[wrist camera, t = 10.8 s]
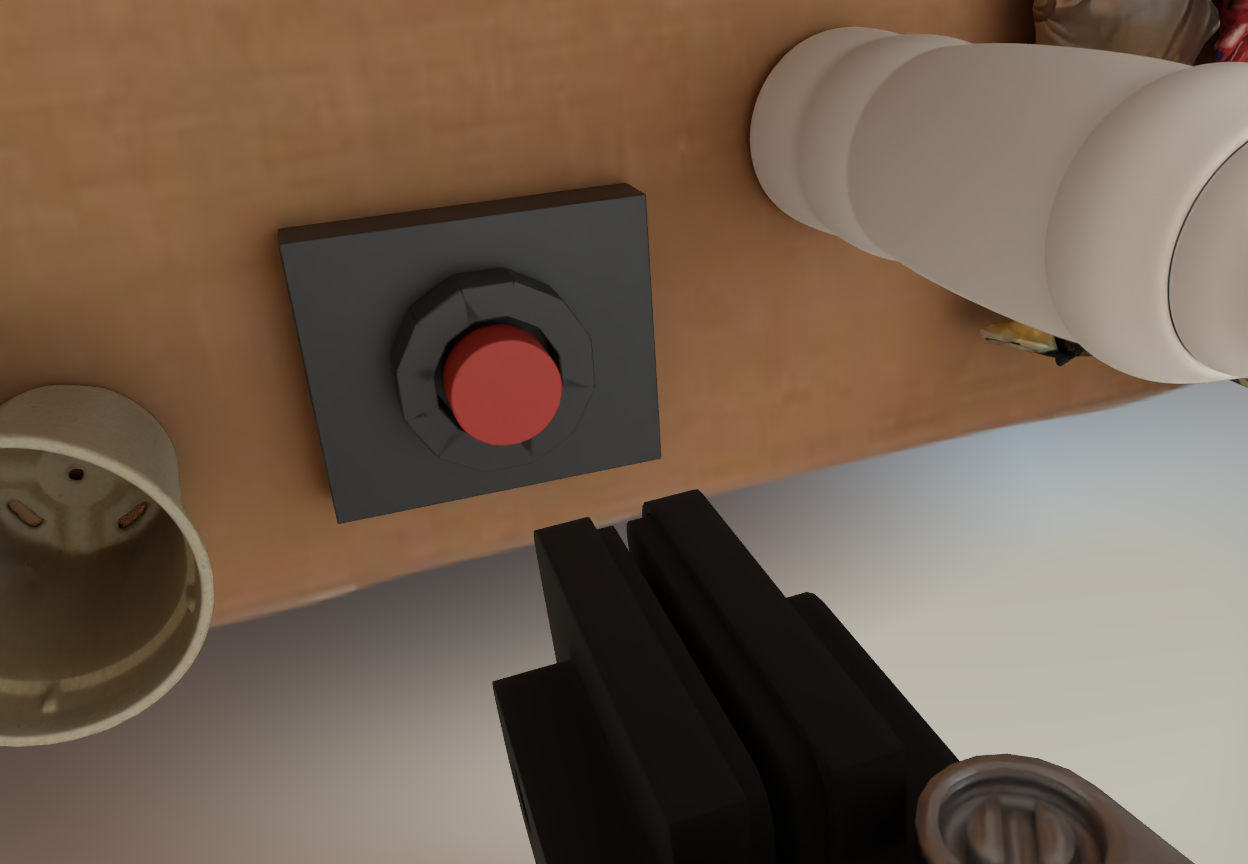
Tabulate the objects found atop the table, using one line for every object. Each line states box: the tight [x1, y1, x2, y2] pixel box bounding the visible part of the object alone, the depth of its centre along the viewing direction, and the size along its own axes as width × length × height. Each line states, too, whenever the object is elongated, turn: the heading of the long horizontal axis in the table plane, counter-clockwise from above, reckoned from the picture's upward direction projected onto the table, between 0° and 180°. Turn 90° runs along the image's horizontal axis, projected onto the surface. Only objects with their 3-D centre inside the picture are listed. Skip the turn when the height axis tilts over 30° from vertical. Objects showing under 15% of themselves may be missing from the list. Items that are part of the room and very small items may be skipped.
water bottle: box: [750, 27, 1248, 384], centre depth 27 cm, size 7×7×25 cm
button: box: [443, 324, 562, 445], centre depth 34 cm, size 4×4×2 cm
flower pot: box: [0, 385, 214, 747], centre depth 31 cm, size 9×9×9 cm
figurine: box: [980, 0, 1220, 366], centre depth 39 cm, size 8×16×6 cm, turn 175°
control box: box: [278, 183, 661, 524], centre depth 36 cm, size 12×10×4 cm
